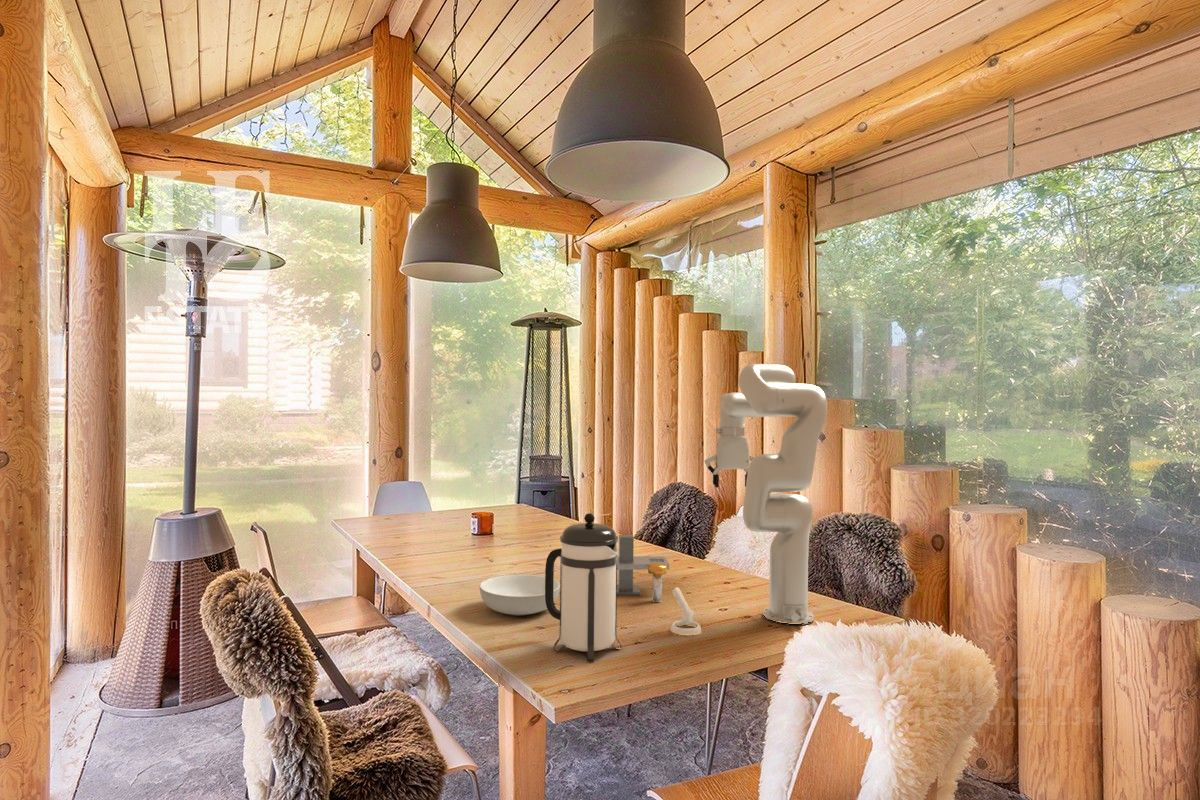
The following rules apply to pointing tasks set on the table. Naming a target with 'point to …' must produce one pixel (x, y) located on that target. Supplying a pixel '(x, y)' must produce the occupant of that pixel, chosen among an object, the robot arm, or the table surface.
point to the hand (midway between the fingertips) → (731, 487)
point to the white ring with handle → (684, 616)
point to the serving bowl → (516, 593)
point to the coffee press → (585, 587)
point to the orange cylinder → (657, 579)
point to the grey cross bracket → (632, 565)
